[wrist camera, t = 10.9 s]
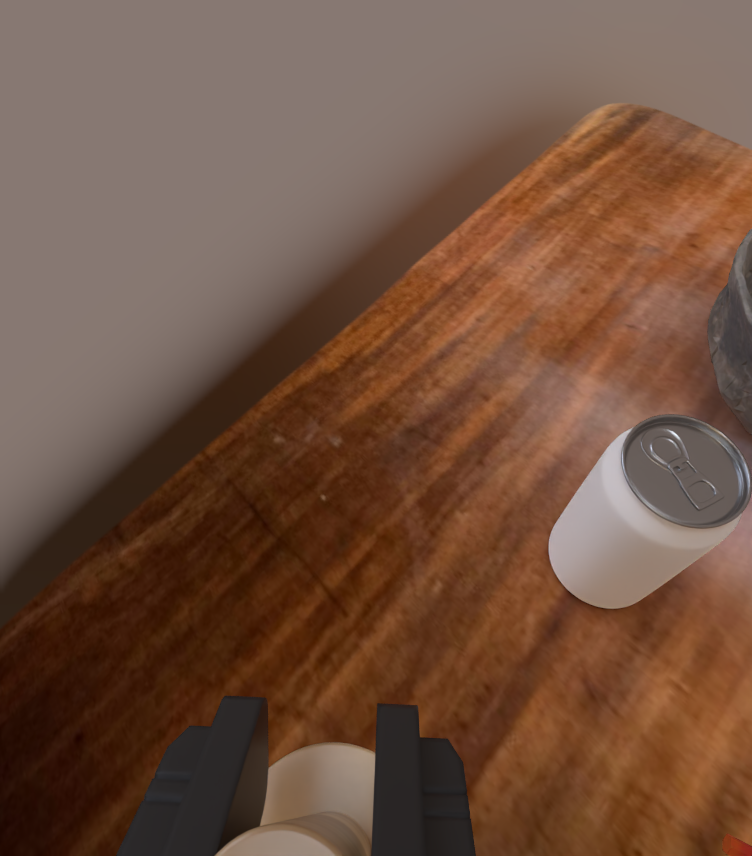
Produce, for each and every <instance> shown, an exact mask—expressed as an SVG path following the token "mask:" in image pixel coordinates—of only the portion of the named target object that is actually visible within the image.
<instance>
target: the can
mask: <svg viewBox="0 0 752 856" xmlns="http://www.w3.org/2000/svg"><path fill="white" fill-rule="evenodd" d="M751 492H752V479H751V473H750V470H749V467H748V464H747V462H746V460H745V458H744V456H743V455H742V453H741V452H740V450H739V449H738V448H737V446H736V445H735V444H734V443H733V442H732V441H731V440H730V439H729V438H728V437H727V436H726V435H725V434H723V433H722V432H721V431H719V430H718V429H716V428H715V427H713V426H711V425H710V424H708V423H706V422H703V421H701V420H698V419H695V418H692V417H688V416H683V415H675V414H667V415H659V416H654V417H651V418H648V419H646V420H644V421H642V422H640V423H639V424H638V425H636V426H635V427H634V428H631V429H629V430H627V431H625V432H624V433H622V434H621V435H619V436H618V437H617V438H616V439H615V440H614V441H613V442H612V443H611V444H610V445H609V446H608V448H607V449H606V450H605V452H604V453H603V455H602V456H601V457H600V459H599V460H598V462H597V463H596V464H595V466H594V467H593V469H592V470H591V472H590V473H589V475H588V476H587V478H586V479H585V480H584V482H583V483H582V485H581V486H580V488H579V489H578V491H577V492H576V494H575V495H574V497H573V498H572V500H571V501H570V502H569V504H568V505H567V507H566V508H565V510H564V511H563V513H562V514H561V516H560V517H559V519H558V520H557V522H556V524H555V525H554V527H553V529H552V532H551V535H550V538H549V558H550V562H551V565H552V568H553V570H554V572H555V574H556V576H557V577H558V579H559V580H560V582H561V583H562V584H563V585H564V587H565V588H566V589H567V590H568V591H569V592H571V593H572V594H573V595H574V596H576V597H577V598H579V599H580V600H582V601H584V602H586V603H588V604H591V605H593V606H597V607H601V608H608V609H617V608H624V607H627V606H630V605H633V604H635V603H637V602H638V601H640V600H642V599H643V598H645V597H646V596H648V595H649V594H650V593H652V592H653V591H655V590H656V589H658V588H659V587H660V586H662V585H663V584H665V583H666V582H667V581H669V580H670V579H672V578H673V577H674V576H676V575H677V574H679V573H680V572H681V571H683V570H684V569H686V568H687V567H688V566H690V565H691V564H692V563H694V562H695V561H697V560H698V559H699V558H701V557H702V556H703V555H705V554H706V553H708V552H709V551H710V550H712V549H713V548H714V547H716V546H717V545H718V544H719V543H721V542H722V541H723V540H724V539H726V538H727V537H728V536H729V535H730V534H731V532H732V531H733V530H734V529H735V527H736V526H737V524H738V522H739V520H740V518H741V515H742V512H743V511H744V509H745V508H746V506H747V504H748V502H749V500H750V497H751Z"/></svg>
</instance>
